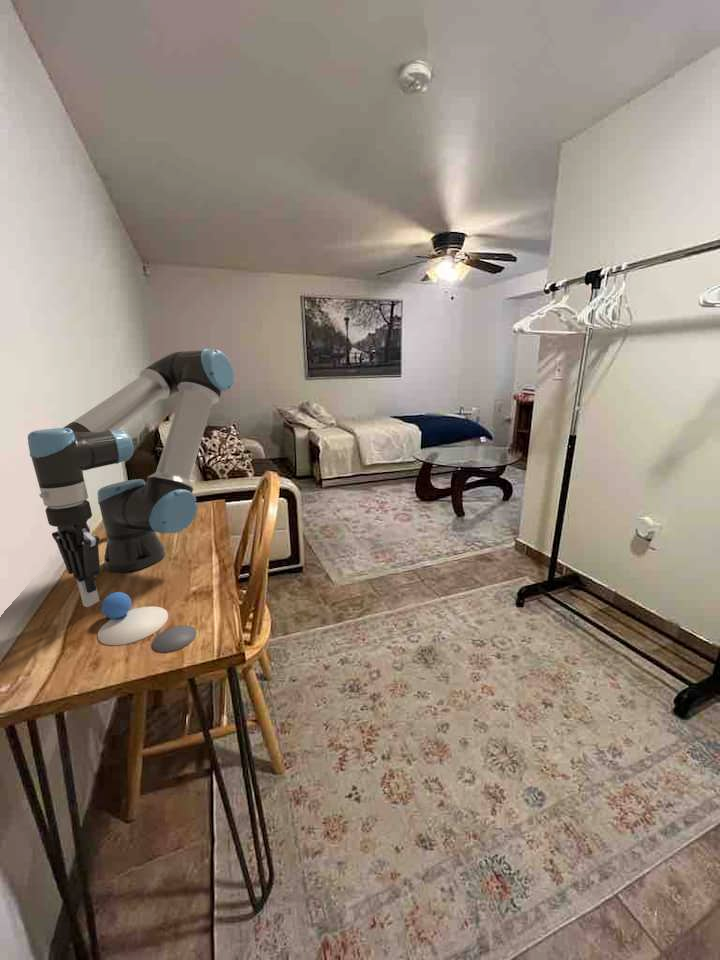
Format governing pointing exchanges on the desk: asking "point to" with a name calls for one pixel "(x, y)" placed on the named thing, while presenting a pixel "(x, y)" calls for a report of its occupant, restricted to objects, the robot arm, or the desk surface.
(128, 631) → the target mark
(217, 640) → the desk surface
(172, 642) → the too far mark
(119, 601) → the ball
